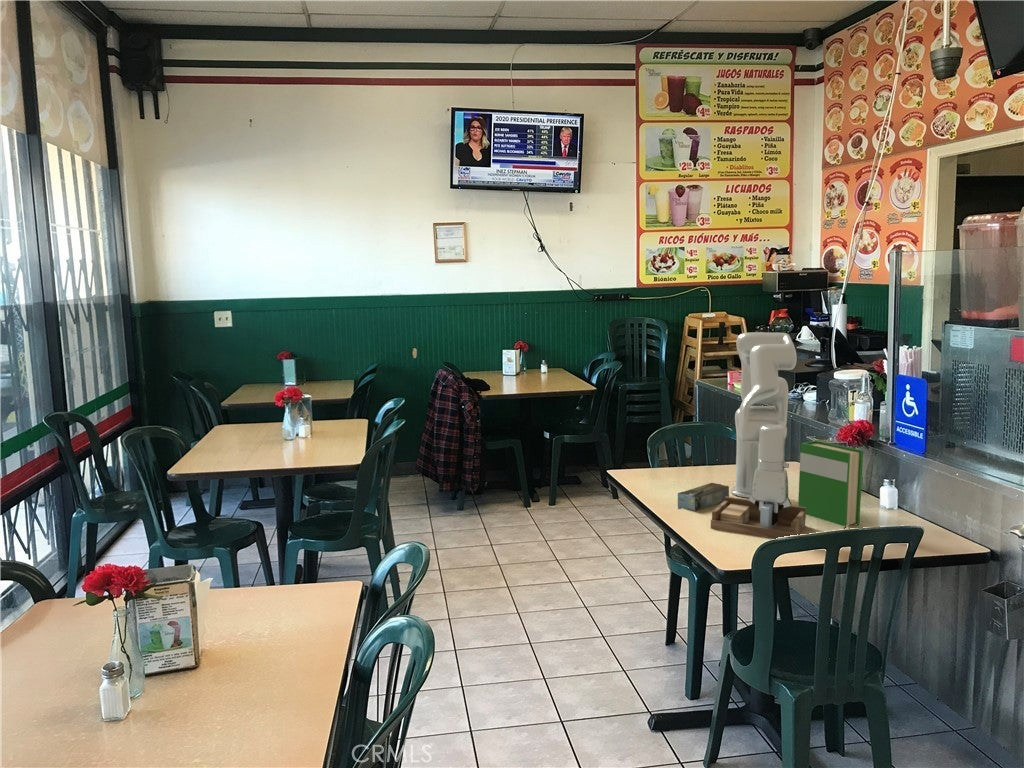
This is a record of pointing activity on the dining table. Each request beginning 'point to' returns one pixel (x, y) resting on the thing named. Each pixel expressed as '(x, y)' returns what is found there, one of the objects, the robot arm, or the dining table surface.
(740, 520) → the offcut
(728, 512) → the offcut
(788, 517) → the tray
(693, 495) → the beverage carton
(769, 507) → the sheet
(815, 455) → the hardback book
